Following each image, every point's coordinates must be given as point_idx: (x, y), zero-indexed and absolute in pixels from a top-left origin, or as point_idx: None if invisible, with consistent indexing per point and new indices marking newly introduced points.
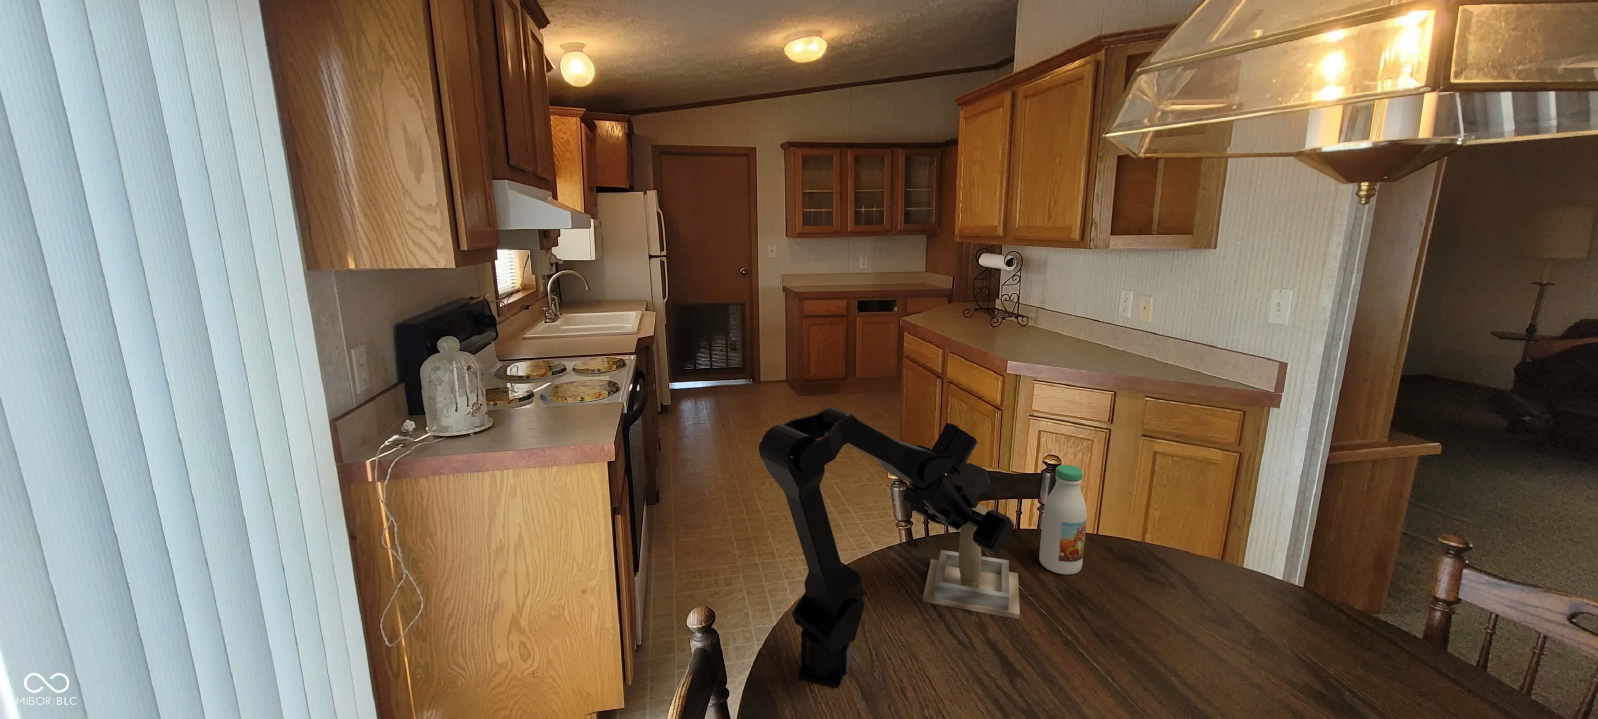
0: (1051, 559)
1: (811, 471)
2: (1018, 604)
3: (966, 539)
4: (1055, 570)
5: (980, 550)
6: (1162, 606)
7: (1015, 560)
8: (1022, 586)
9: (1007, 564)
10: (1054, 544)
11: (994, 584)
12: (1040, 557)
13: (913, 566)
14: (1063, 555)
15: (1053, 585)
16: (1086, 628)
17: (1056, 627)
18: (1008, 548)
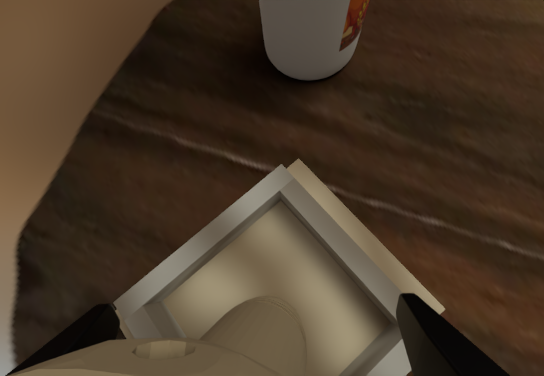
0: (322, 59)
1: None
2: (407, 273)
3: None
4: (330, 74)
5: (299, 344)
6: (515, 4)
7: (242, 109)
8: (330, 181)
9: (295, 184)
10: (333, 20)
11: (305, 253)
12: (283, 65)
13: None
14: (351, 32)
15: (361, 118)
16: (527, 191)
17: (500, 249)
18: (198, 85)
